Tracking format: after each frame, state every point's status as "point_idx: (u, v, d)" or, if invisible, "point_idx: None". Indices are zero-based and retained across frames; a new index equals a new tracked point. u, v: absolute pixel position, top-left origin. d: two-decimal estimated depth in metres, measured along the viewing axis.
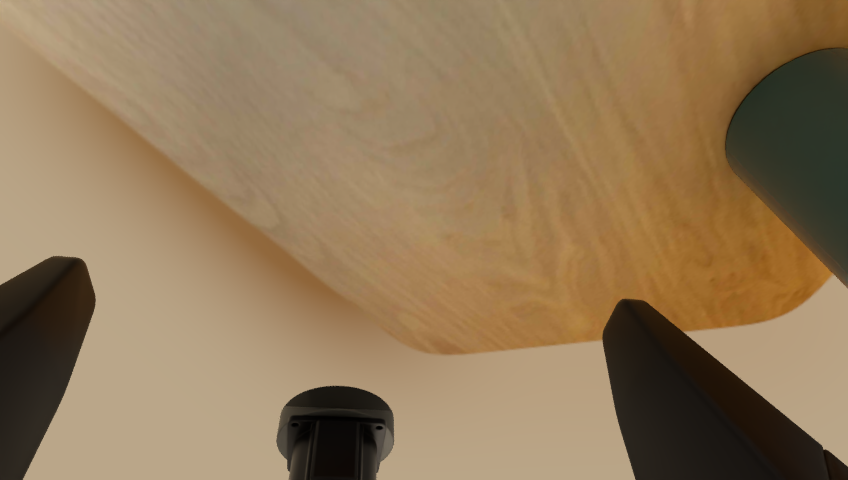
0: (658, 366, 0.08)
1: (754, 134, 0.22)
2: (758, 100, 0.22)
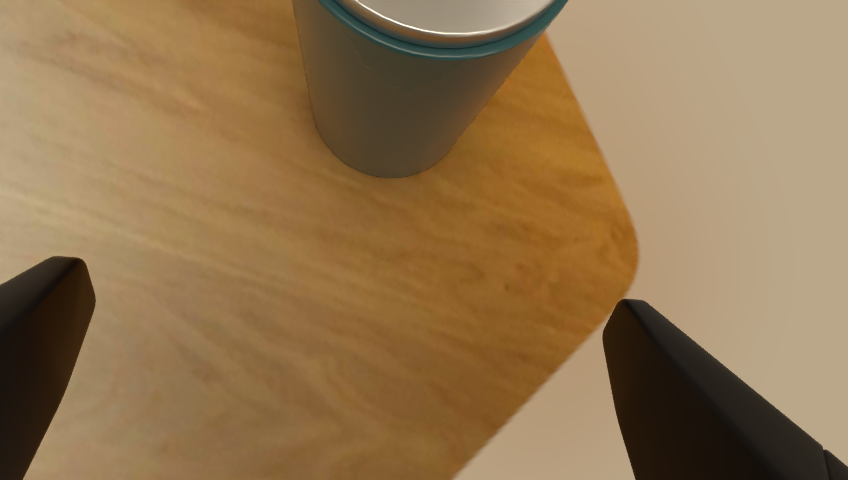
0: (658, 366, 0.08)
1: (320, 127, 0.21)
2: None
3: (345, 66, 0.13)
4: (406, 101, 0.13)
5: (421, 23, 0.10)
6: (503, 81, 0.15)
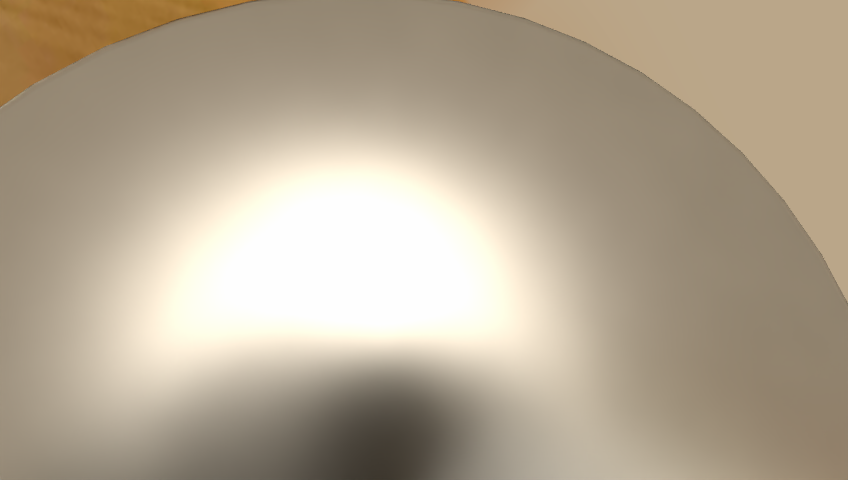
0: None
1: None
2: None
3: None
4: None
5: None
6: None
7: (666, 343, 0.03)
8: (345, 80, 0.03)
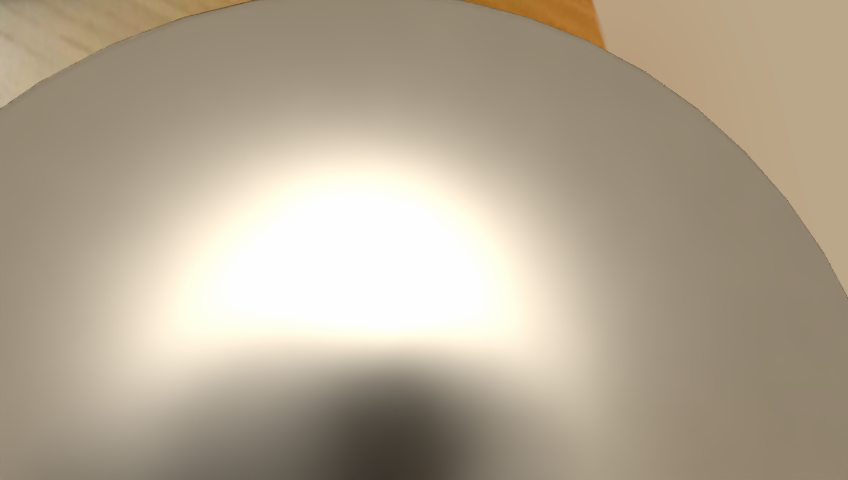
0: None
1: None
2: None
3: None
4: None
5: None
6: None
7: (669, 341, 0.03)
8: (349, 78, 0.03)
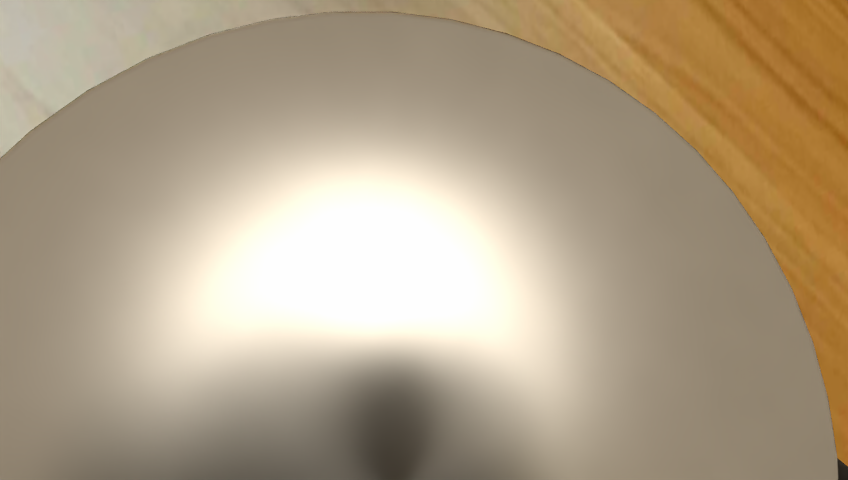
0: None
1: None
2: None
3: None
4: None
5: None
6: None
7: (627, 314, 0.04)
8: (351, 87, 0.04)
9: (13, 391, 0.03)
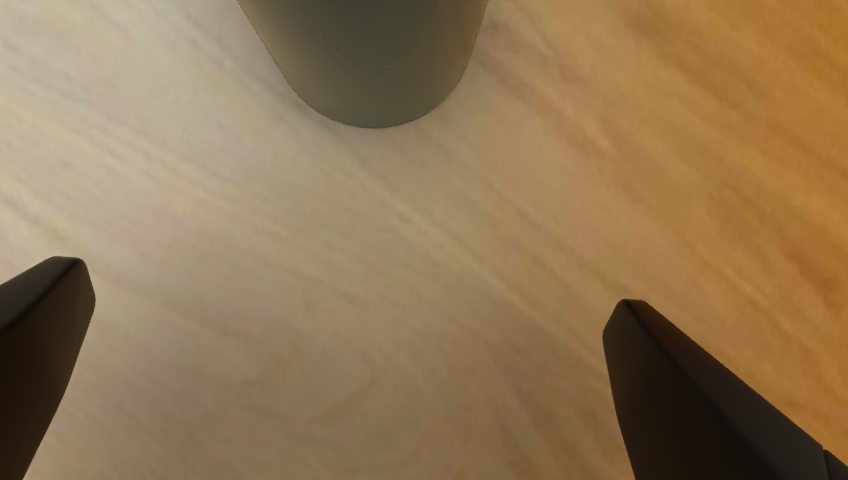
0: (658, 366, 0.08)
1: (281, 71, 0.16)
2: None
3: None
4: None
5: None
6: None
7: None
8: None
9: None
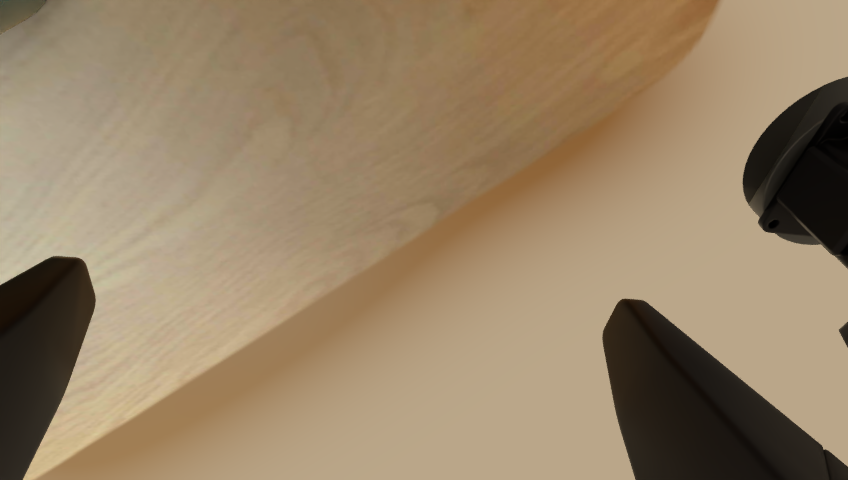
0: (658, 366, 0.08)
1: None
2: None
3: None
4: None
5: None
6: None
7: None
8: None
9: None
